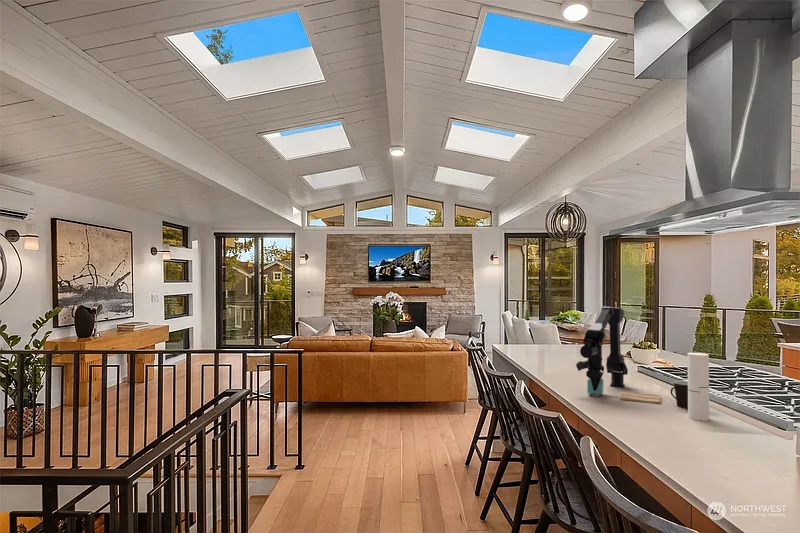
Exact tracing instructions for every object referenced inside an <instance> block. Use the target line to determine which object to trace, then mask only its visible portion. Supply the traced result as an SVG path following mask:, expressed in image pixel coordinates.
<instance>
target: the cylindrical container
mask: <svg viewBox="0 0 800 533" xmlns="http://www.w3.org/2000/svg"><path fill="white" fill-rule="evenodd" d="M709 358H710V356H709V353H704V352H687V382H688V409H687V418H688V419H690V420H695V421H700V420H702V422H703V421H705V422H707V421H709V420H710V369H709V368H710V363H709V362H710V361H709V360H710V359H709Z"/></svg>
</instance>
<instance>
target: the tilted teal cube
mask: <svg viewBox="0 0 800 533" xmlns="http://www.w3.org/2000/svg"><path fill="white" fill-rule="evenodd" d="M603 393H604V378H601V379H600V382H599V384H598V387H597V390H596V391H594V390H593V386H592V382H591V379H590V378H589V377H587V394H590V395H591V394H600V396H601V395H603Z"/></svg>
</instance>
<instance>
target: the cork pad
mask: <svg viewBox="0 0 800 533" xmlns="http://www.w3.org/2000/svg"><path fill="white" fill-rule="evenodd" d="M619 400H620V401H625V400H628V401H627V402H635V401H638V402H637V403H645V402H647V403H648V404H655V403H658V404H657V405H661V404H662V402H661V394H660V395H659V394H649V393H640V392H639V393H637V392H629V391H628V392H626V391H622V392H621V394H620V399H619ZM647 403H646V404H647Z"/></svg>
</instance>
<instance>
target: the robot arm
mask: <svg viewBox="0 0 800 533" xmlns="http://www.w3.org/2000/svg"><path fill="white" fill-rule="evenodd" d="M624 316H625V311H624V309H622V307H617V306H602V307H601V311H600V313H599V315H598V317H597V319H596V321H595V322H594V324H592V325H590V326H589V327H588V329H587V330H586V331H585V334H584V338H583V341H582V343H583V344H584V345H583V346H581V347H580V350H579V353H580V355H581V356H582V357H583V359H586V360H583V361H582V360H580V361H578V362H577V363H576V364H575V366H576V369H577V371H578V372H579V371H582V370H585V369H587V370H586V373H585V376H586V377H587V378H590V379H591V382H592V386H593V390H594V391H596V390H597V387H598V384H599V382H600V379H603V378H602V377H603V375H604V371H605V366H606V372H607V374H610V375H611V376H610V377H611V381H610V384H609V385H610V387H620V388H624V387H625V385H626V384H625V383H624V376H625V375H626V376H627V375H628V373H629V371H628V367H627V365H626V362H625V358H624V356H623V354H622V352H621V323H622V322H623V320H624ZM607 325H609V344H610V345H609V348H610V350H609V351H610V352H609V355H608V356H607V358H606V364H605V366H604V365H603V343H604V340H605V337H606V333H605V329H606V327H607Z"/></svg>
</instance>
